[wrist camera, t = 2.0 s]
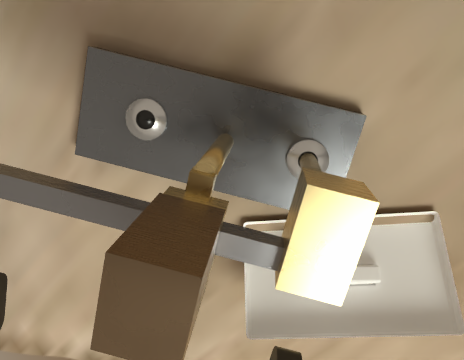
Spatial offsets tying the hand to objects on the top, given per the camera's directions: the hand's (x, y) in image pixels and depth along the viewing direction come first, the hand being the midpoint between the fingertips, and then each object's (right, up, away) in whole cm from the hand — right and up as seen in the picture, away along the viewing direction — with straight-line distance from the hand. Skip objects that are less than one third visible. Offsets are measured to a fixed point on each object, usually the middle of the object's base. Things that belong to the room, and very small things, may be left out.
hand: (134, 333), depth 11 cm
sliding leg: (+2, +5, +17) cm, 18 cm away
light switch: (+11, -2, +20) cm, 24 cm away
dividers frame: (+1, +7, +17) cm, 18 cm away
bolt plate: (+2, +8, +18) cm, 20 cm away
